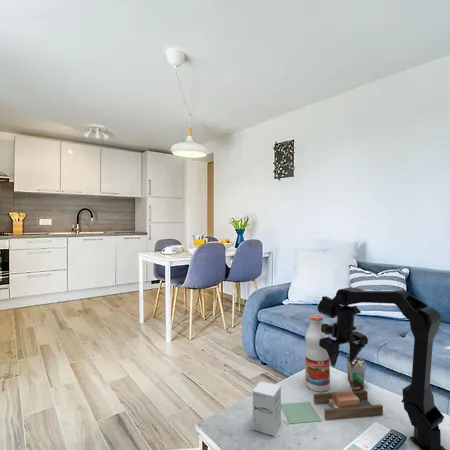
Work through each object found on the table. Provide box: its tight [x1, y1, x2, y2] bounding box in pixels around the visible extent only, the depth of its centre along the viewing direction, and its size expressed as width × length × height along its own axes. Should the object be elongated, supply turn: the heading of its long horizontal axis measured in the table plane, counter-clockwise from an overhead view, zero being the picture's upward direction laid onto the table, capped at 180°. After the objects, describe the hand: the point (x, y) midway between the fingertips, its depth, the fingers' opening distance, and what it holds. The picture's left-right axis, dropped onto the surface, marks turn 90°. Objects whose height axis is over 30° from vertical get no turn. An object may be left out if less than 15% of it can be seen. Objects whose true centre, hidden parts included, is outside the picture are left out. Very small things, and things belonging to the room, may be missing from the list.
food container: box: [346, 354, 367, 391], centre depth 122 cm, size 12×6×10 cm, turn 168°
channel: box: [313, 389, 384, 421], centre depth 107 cm, size 10×20×3 cm, turn 96°
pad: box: [281, 401, 323, 425], centre depth 105 cm, size 11×11×1 cm
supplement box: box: [252, 380, 282, 437], centre depth 98 cm, size 7×7×13 cm
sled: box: [328, 389, 360, 408], centre depth 107 cm, size 7×8×4 cm
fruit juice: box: [304, 314, 331, 393], centre depth 122 cm, size 9×9×28 cm
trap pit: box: [360, 400, 373, 406], centre depth 107 cm, size 7×6×1 cm
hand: (342, 363), depth 111 cm, fingers open, 9 cm apart
